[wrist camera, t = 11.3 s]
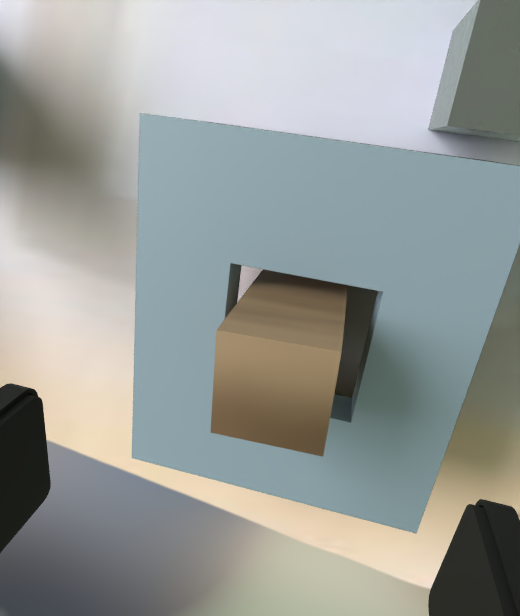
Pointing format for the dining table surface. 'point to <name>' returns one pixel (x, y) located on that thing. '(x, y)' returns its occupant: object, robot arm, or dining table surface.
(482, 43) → the short pin
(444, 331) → the board
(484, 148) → the dining table surface
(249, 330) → the long pin
